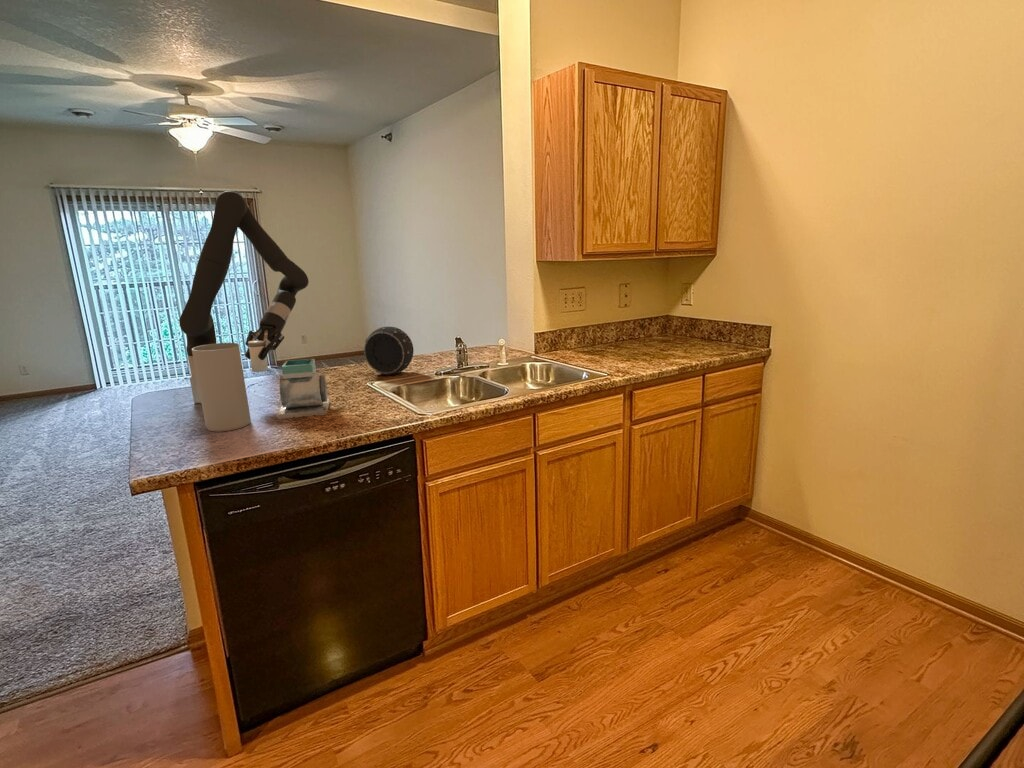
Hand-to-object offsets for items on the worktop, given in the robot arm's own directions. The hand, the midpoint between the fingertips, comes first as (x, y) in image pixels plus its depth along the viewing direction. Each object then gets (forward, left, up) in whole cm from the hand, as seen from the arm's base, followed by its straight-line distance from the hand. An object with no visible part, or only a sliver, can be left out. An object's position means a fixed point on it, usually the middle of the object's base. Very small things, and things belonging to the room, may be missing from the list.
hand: (254, 358), depth 183 cm
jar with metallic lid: (+1, +2, -5) cm, 5 cm away
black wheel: (+45, +33, -17) cm, 59 cm away
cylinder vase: (-6, -18, -17) cm, 26 cm away
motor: (+15, -10, -17) cm, 25 cm away
